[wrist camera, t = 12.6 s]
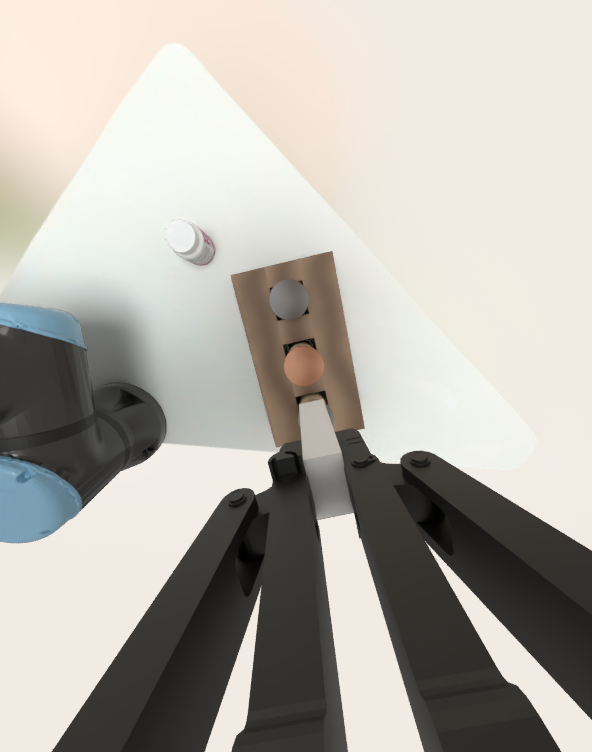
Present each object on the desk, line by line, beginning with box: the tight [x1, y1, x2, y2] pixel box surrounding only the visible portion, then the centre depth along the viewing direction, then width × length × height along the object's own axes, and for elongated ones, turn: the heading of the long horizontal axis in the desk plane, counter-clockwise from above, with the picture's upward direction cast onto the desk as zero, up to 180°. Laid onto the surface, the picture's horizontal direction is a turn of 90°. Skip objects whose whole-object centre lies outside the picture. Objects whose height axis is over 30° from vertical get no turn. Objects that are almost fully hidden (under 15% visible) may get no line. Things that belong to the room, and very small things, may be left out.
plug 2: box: [298, 391, 334, 428], centre depth 44 cm, size 5×5×12 cm
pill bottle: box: [165, 220, 215, 265], centre depth 41 cm, size 5×5×8 cm
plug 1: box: [269, 279, 309, 320], centre depth 40 cm, size 5×5×12 cm
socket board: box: [231, 251, 365, 447], centre depth 45 cm, size 14×26×8 cm, turn 13°
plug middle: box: [284, 340, 324, 386], centre depth 40 cm, size 5×5×12 cm
